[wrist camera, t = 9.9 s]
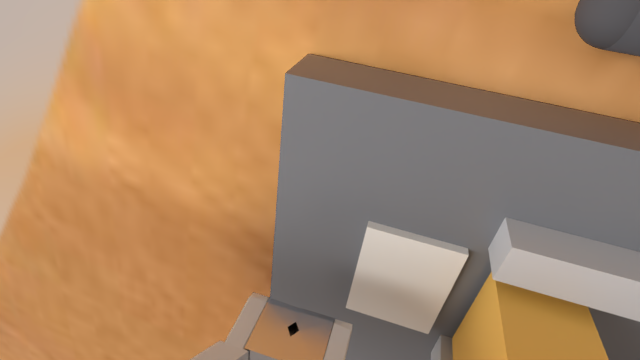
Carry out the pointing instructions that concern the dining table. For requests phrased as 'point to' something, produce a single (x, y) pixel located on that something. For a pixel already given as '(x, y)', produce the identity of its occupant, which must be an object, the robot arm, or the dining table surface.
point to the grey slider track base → (448, 207)
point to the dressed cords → (610, 24)
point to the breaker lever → (525, 327)
